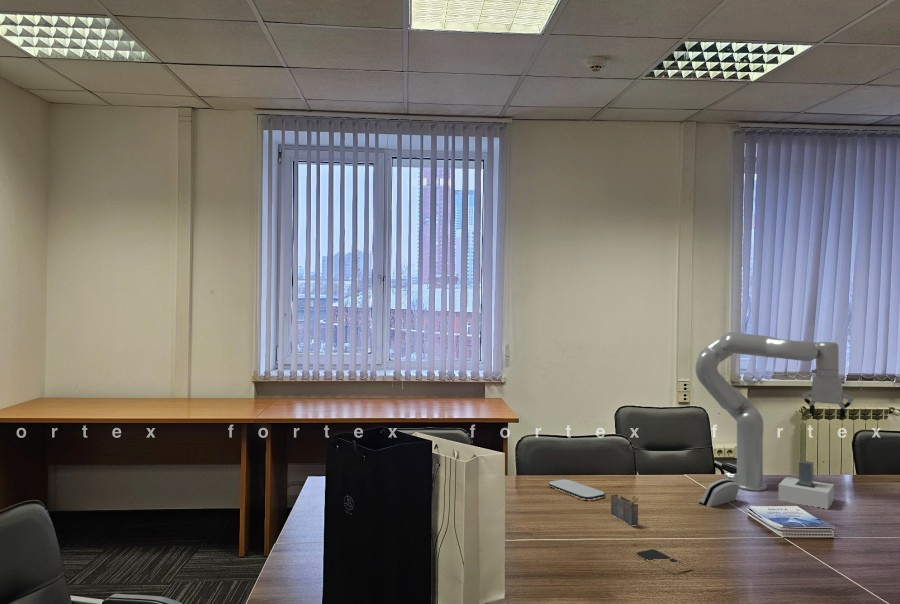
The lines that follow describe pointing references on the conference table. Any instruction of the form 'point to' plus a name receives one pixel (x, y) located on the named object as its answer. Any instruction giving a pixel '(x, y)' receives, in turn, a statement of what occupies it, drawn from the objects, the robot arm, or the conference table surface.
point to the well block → (806, 493)
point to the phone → (654, 555)
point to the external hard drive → (577, 489)
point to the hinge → (720, 492)
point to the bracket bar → (806, 474)
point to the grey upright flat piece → (625, 509)
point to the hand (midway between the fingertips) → (827, 417)
